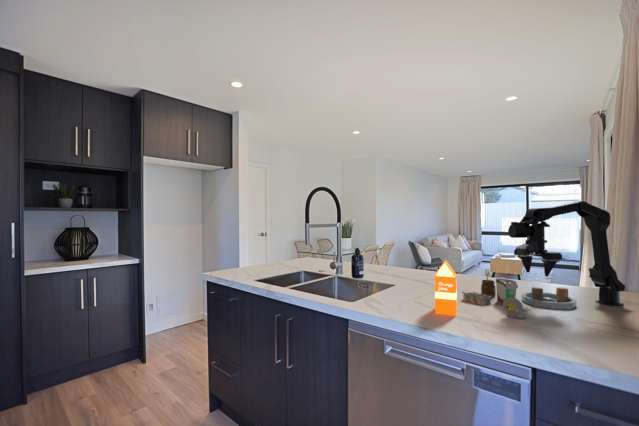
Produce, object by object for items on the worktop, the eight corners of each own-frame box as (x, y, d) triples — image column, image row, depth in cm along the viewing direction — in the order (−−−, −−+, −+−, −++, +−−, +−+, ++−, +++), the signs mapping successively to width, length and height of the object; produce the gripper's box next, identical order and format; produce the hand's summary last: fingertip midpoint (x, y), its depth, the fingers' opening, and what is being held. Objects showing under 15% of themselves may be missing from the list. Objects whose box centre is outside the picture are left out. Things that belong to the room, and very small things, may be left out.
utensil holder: (482, 296, 144) (481, 270, 144) (480, 293, 150) (479, 268, 150) (496, 297, 142) (496, 271, 142) (494, 294, 148) (493, 269, 148)
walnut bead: (537, 300, 134) (537, 286, 134) (545, 303, 130) (545, 288, 130) (529, 301, 134) (529, 287, 134) (537, 303, 130) (537, 289, 130)
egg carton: (460, 300, 139) (460, 291, 139) (471, 298, 143) (471, 289, 143) (482, 306, 130) (482, 296, 130) (493, 304, 133) (493, 294, 133)
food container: (523, 309, 124) (523, 284, 124) (506, 308, 125) (506, 284, 125) (511, 301, 136) (510, 278, 136) (496, 300, 137) (495, 278, 138)
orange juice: (457, 309, 125) (456, 260, 125) (456, 316, 117) (455, 263, 117) (436, 307, 128) (435, 259, 128) (434, 313, 120) (433, 262, 120)
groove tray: (547, 296, 144) (547, 291, 144) (587, 307, 125) (587, 301, 125) (512, 298, 140) (512, 293, 140) (548, 310, 122) (548, 304, 122)
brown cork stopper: (566, 301, 132) (566, 287, 132) (570, 304, 129) (569, 289, 129) (555, 300, 134) (554, 287, 134) (558, 303, 130) (558, 289, 130)
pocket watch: (524, 314, 118) (523, 288, 118) (531, 321, 110) (530, 293, 110) (499, 312, 121) (499, 286, 121) (505, 319, 113) (504, 291, 113)
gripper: (503, 236, 140) (503, 271, 140) (538, 239, 122) (539, 279, 122) (524, 236, 142) (525, 270, 142) (563, 239, 124) (563, 278, 123)
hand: (536, 274), depth 132 cm, fingers open, 9 cm apart
